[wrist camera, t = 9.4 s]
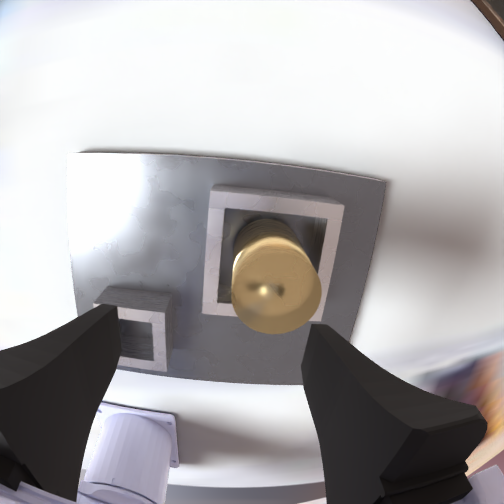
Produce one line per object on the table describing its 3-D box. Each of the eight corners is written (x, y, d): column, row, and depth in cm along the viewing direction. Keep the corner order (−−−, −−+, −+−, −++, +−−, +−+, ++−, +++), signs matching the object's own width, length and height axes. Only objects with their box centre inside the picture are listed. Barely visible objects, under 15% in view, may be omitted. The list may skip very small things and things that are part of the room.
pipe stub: (296, 280, 20) (316, 333, 15) (233, 280, 20) (231, 334, 15) (301, 219, 19) (326, 253, 13) (233, 218, 19) (231, 252, 13)
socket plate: (330, 372, 25) (342, 405, 21) (93, 352, 24) (76, 382, 20) (376, 178, 20) (405, 188, 16) (78, 152, 18) (47, 156, 15)
